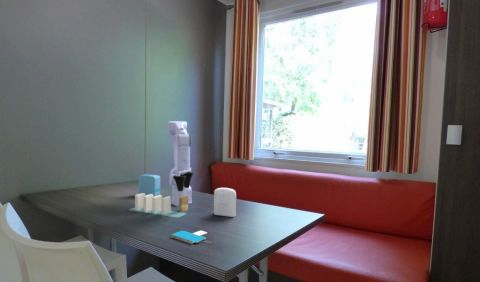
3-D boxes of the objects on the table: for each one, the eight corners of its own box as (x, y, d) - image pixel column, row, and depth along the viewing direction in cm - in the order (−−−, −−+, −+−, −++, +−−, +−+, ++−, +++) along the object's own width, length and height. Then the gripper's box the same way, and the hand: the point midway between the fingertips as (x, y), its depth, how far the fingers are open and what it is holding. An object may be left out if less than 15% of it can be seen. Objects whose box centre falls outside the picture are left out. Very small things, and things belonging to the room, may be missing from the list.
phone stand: (224, 239, 106) (224, 234, 106) (201, 250, 96) (201, 245, 96) (185, 227, 117) (185, 223, 117) (161, 236, 108) (161, 232, 108)
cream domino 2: (143, 211, 136) (143, 196, 136) (150, 208, 140) (150, 194, 140) (146, 211, 135) (146, 196, 135) (153, 209, 140) (153, 194, 140)
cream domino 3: (152, 212, 134) (152, 197, 134) (159, 209, 138) (159, 195, 138) (155, 213, 133) (154, 197, 133) (162, 210, 138) (162, 195, 138)
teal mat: (128, 210, 138) (128, 209, 138) (138, 206, 145) (138, 206, 145) (178, 218, 127) (178, 217, 127) (187, 214, 134) (187, 213, 134)
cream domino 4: (161, 214, 132) (161, 198, 132) (168, 211, 137) (168, 196, 136) (164, 214, 131) (164, 199, 131) (170, 211, 136) (170, 196, 136)
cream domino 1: (135, 210, 138) (134, 195, 138) (142, 207, 142) (142, 193, 142) (137, 210, 137) (137, 195, 137) (145, 207, 142) (145, 193, 142)
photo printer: (237, 215, 133) (237, 187, 133) (234, 217, 129) (234, 189, 129) (215, 212, 136) (216, 186, 136) (212, 215, 132) (212, 188, 132)
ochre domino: (179, 212, 136) (179, 197, 136) (185, 209, 141) (185, 195, 140) (181, 213, 135) (181, 198, 135) (188, 210, 140) (188, 195, 140)
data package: (160, 196, 166) (160, 175, 166) (154, 198, 162) (154, 176, 162) (144, 194, 172) (144, 173, 171) (138, 195, 168) (138, 174, 167)
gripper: (181, 158, 145) (181, 186, 145) (168, 161, 130) (168, 192, 131) (195, 158, 143) (195, 186, 144) (183, 162, 129) (183, 192, 129)
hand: (183, 189), depth 137 cm, fingers open, 7 cm apart
